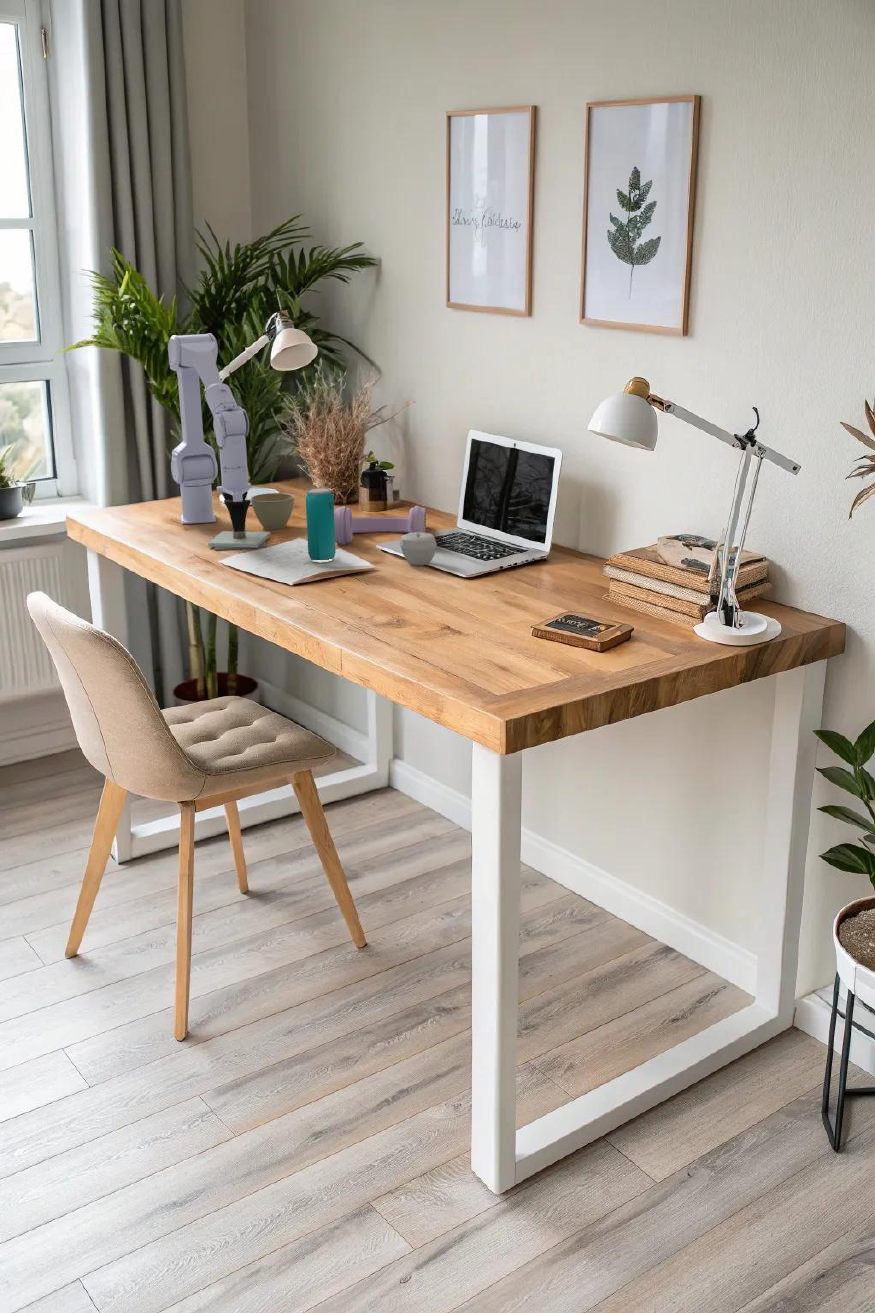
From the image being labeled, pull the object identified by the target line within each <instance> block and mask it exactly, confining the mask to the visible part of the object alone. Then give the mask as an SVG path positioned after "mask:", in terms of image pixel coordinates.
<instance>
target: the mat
mask: <svg viewBox="0 0 875 1313" xmlns="http://www.w3.org/2000/svg"><path fill="white" fill-rule="evenodd" d="M216 536H217V535H215V536H213V535H212V539H214V538H215V537H216ZM266 548H267V545H266V540H265V541H264V542H263V543H262V544H261V545H260V546H259V547H257V548H255V547H214V551H216V552H218V551H219V552H220V551H222V552H223V551H234V550H237V551H238V550H249V549H266Z"/></svg>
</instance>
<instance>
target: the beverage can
mask: <svg viewBox="0 0 875 1313" xmlns="http://www.w3.org/2000/svg"><path fill="white" fill-rule="evenodd" d="M306 492H307V493H306V495H305V512H306V515H305V516H306V517H305V518H306V532H307V533H306V536H307V537H306V538H307V552H308V556H309V558H310V560H329V559H333V558H335V556H336V552H337V550H336V549H337V548H336V542H335V523H334V511H335V502H334V501H335V500H334V494H333V492H332V488H329V487H321V486H319V487H311V488H308V489H307V490H306ZM333 560H334V559H333Z"/></svg>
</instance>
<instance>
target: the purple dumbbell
mask: <svg viewBox="0 0 875 1313" xmlns="http://www.w3.org/2000/svg"><path fill="white" fill-rule="evenodd" d="M426 511H427V510H426V508H425V507H421V506H419V505H414V507H411V508H410V509H409V513H408V516H373V517H372V516H360V517H357V516H356V517H355V516H354V517H353V513H352V510H351V508H349V507H347V506H346V505H345V506H344V505H343V506H342V505H341V506H340V507H336V508H334V523H335V544H339V545H342V546H346V545H348V544H351V542H352V540H353V534H357V533H358V534H362V533H364V534H365V533H366V534H367V533H381V532H382V533H408V534H409V533H415V532H423V533H427V517H426V516H427V514H426Z"/></svg>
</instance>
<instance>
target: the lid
mask: <svg viewBox="0 0 875 1313" xmlns="http://www.w3.org/2000/svg"><path fill="white" fill-rule="evenodd" d="M231 525H232V524H231ZM215 536H216V537H215V538H214V539H213V538H212V539H211V540H210V541H209V542H208V543H207V544H208V548H209V547H210V548H212V547H214V548H215V547H255V548H254V549H258V548H257V547H259V546H260V545H261V544H262V543H263V542H264V541H265V542H266V540H267V539H268V538H269V537H270V536H271V532H270V531H246V528H245V529H244V531H242V532H235V531H234V529H233V525H232V530H230V531H227V530H222V531H221V532H220V533H218V534H217V535H215Z"/></svg>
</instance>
